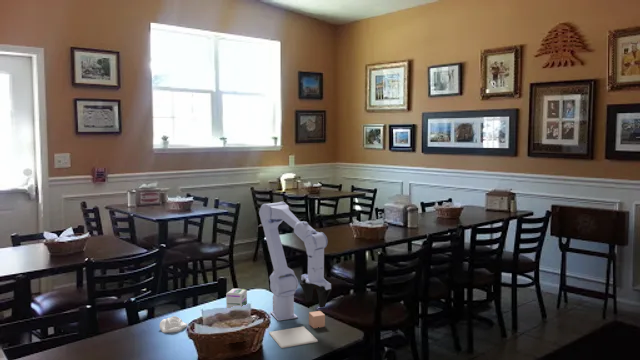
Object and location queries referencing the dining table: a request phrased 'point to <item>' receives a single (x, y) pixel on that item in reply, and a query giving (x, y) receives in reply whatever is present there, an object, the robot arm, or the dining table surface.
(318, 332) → the dining table surface
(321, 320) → the terracotta block
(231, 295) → the syrup box
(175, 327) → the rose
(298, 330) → the serving plate
